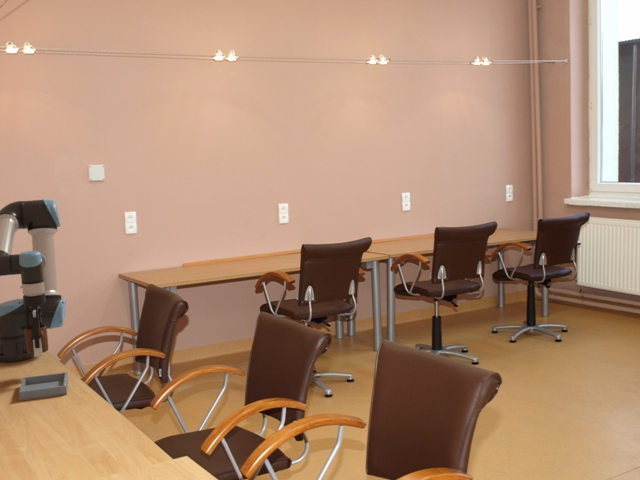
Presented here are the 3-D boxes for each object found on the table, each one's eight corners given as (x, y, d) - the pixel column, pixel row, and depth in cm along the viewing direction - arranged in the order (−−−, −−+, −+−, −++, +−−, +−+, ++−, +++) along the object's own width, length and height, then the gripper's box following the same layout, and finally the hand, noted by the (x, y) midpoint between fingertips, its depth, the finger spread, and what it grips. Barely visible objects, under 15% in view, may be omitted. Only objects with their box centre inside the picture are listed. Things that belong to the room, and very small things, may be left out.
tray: (24, 385, 255) (23, 377, 255) (67, 380, 260) (67, 372, 259) (19, 400, 239) (19, 392, 239) (66, 394, 244) (65, 386, 243)
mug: (55, 354, 262) (52, 329, 260) (33, 358, 257) (30, 333, 256) (45, 347, 271) (43, 322, 270) (24, 351, 267) (21, 326, 265)
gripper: (25, 288, 271) (30, 344, 274) (20, 301, 249) (26, 362, 252) (46, 286, 273) (51, 341, 277) (43, 299, 251) (48, 359, 254)
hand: (39, 351), depth 264 cm, fingers closed on mug, 11 cm apart
